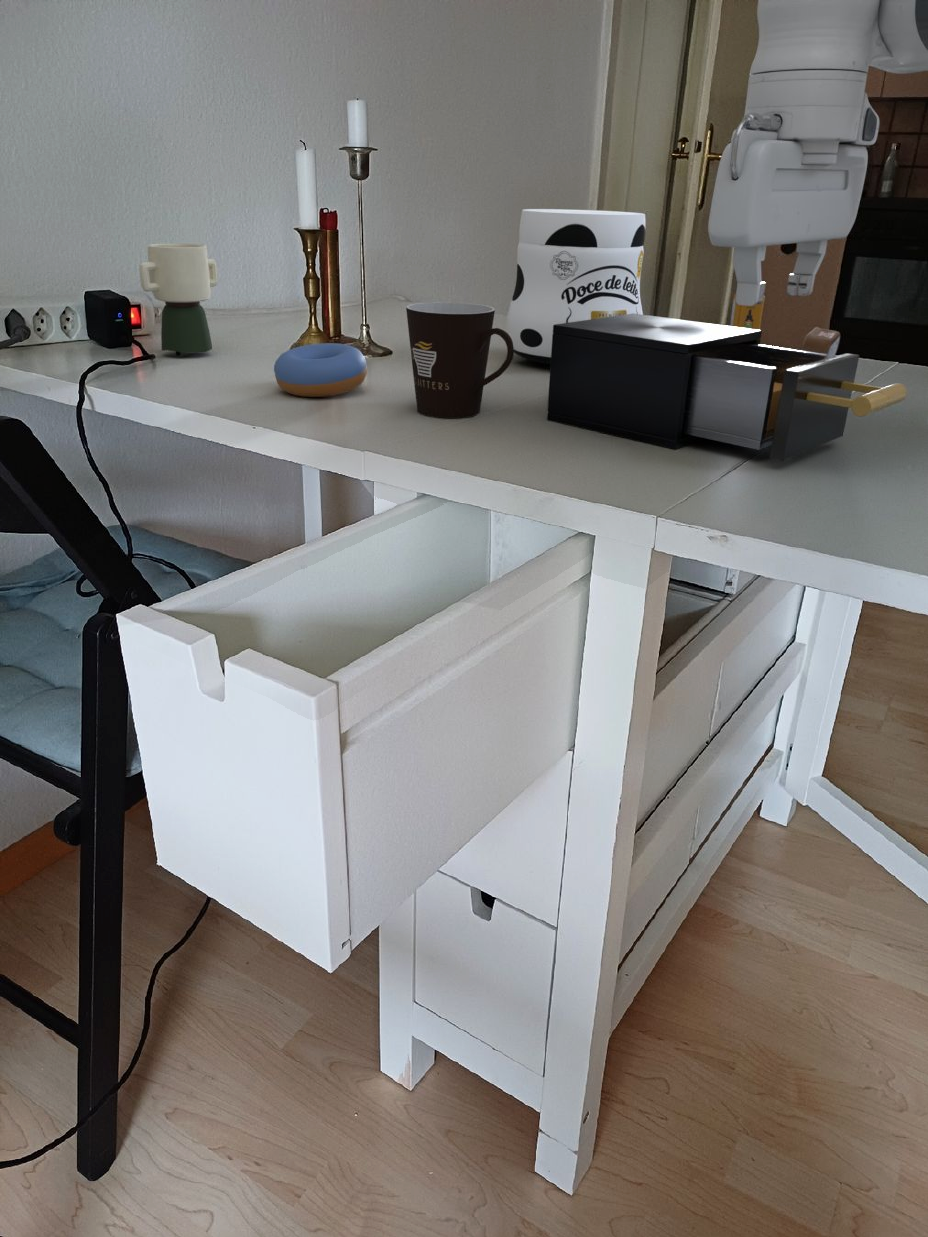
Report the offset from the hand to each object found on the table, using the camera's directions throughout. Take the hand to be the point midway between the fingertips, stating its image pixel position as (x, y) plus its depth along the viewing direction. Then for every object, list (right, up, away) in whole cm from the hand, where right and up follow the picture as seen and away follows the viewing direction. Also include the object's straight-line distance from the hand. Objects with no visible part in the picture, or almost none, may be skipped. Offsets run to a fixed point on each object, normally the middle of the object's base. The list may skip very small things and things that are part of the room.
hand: (774, 300), depth 80 cm
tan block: (0, -10, +4) cm, 11 cm away
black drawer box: (-9, -8, +12) cm, 17 cm away
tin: (+9, -6, +17) cm, 20 cm away
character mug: (-62, +6, +39) cm, 74 cm away
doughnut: (-42, -3, +21) cm, 47 cm away
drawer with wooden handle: (+1, -11, +4) cm, 12 cm away
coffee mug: (-28, -7, +13) cm, 32 cm away
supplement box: (+7, +2, +34) cm, 35 cm away
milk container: (-13, +6, +41) cm, 44 cm away
